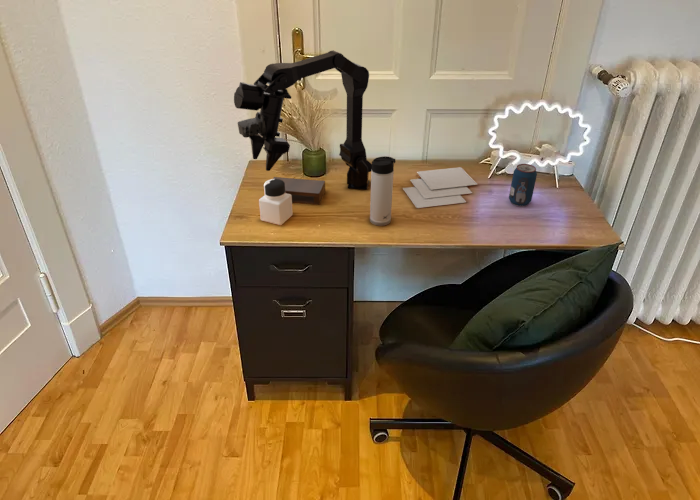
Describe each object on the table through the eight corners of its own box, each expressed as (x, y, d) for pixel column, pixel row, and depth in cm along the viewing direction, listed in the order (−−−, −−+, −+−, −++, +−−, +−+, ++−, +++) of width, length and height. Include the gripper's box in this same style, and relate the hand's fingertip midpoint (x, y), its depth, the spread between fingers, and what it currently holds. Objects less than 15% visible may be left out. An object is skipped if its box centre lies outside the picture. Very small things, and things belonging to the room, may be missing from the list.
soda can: (523, 196, 175) (530, 161, 168) (534, 206, 169) (542, 171, 163) (504, 198, 174) (510, 164, 167) (514, 208, 168) (521, 173, 161)
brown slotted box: (325, 191, 177) (325, 180, 174) (319, 205, 169) (319, 193, 167) (274, 187, 179) (274, 176, 177) (267, 200, 171) (266, 189, 169)
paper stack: (490, 199, 173) (491, 197, 172) (416, 208, 168) (416, 206, 167) (460, 168, 192) (460, 167, 191) (393, 176, 186) (393, 174, 186)
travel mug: (390, 227, 158) (394, 164, 147) (368, 224, 159) (370, 162, 148) (393, 216, 163) (396, 155, 152) (371, 214, 164) (373, 153, 153)
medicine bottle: (293, 215, 164) (291, 179, 157) (281, 226, 158) (278, 189, 152) (273, 210, 166) (270, 174, 160) (260, 220, 161) (256, 184, 154)
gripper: (231, 99, 153) (223, 152, 159) (257, 119, 140) (247, 176, 146) (266, 103, 159) (257, 154, 166) (295, 123, 146) (284, 177, 152)
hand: (261, 164), depth 157 cm, fingers open, 9 cm apart
